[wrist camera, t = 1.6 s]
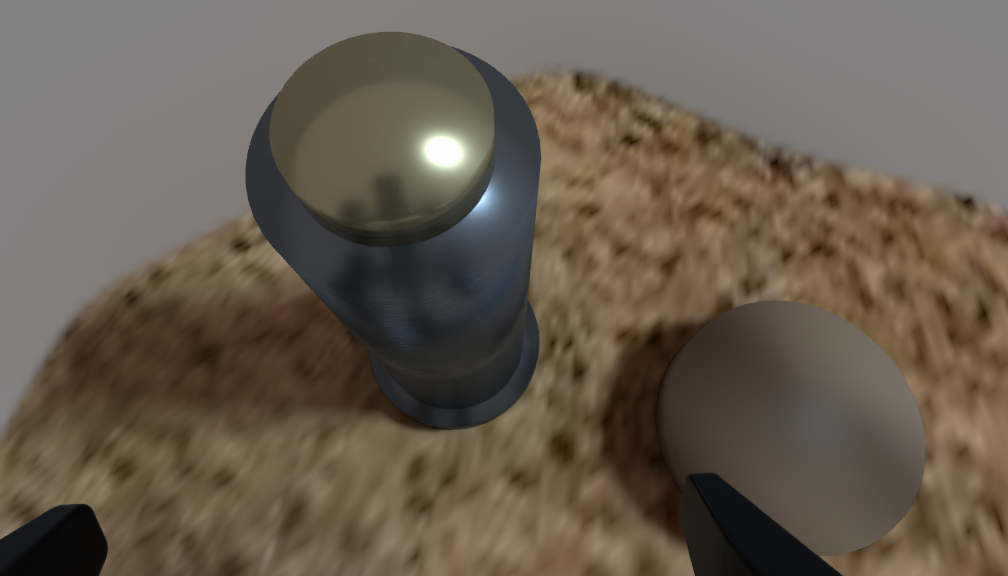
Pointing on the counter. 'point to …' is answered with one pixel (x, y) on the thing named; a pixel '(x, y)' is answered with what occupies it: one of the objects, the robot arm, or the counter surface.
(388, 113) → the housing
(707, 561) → the robot arm
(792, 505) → the stand
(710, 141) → the counter surface
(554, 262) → the counter surface
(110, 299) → the counter surface
